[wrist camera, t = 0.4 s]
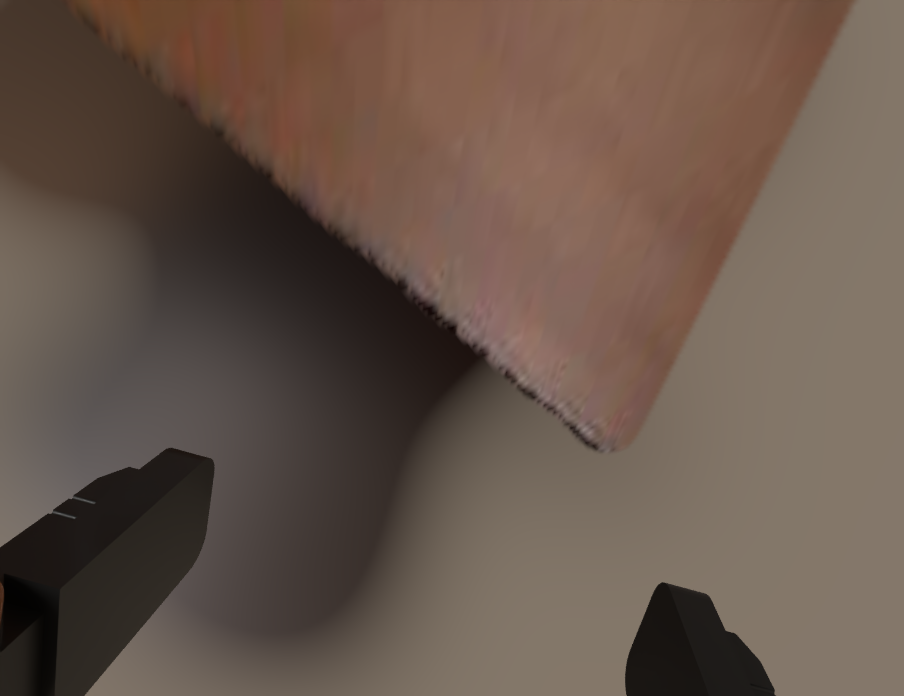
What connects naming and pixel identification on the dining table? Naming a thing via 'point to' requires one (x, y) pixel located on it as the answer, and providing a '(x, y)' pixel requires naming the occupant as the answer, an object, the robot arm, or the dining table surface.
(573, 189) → the dining table surface
